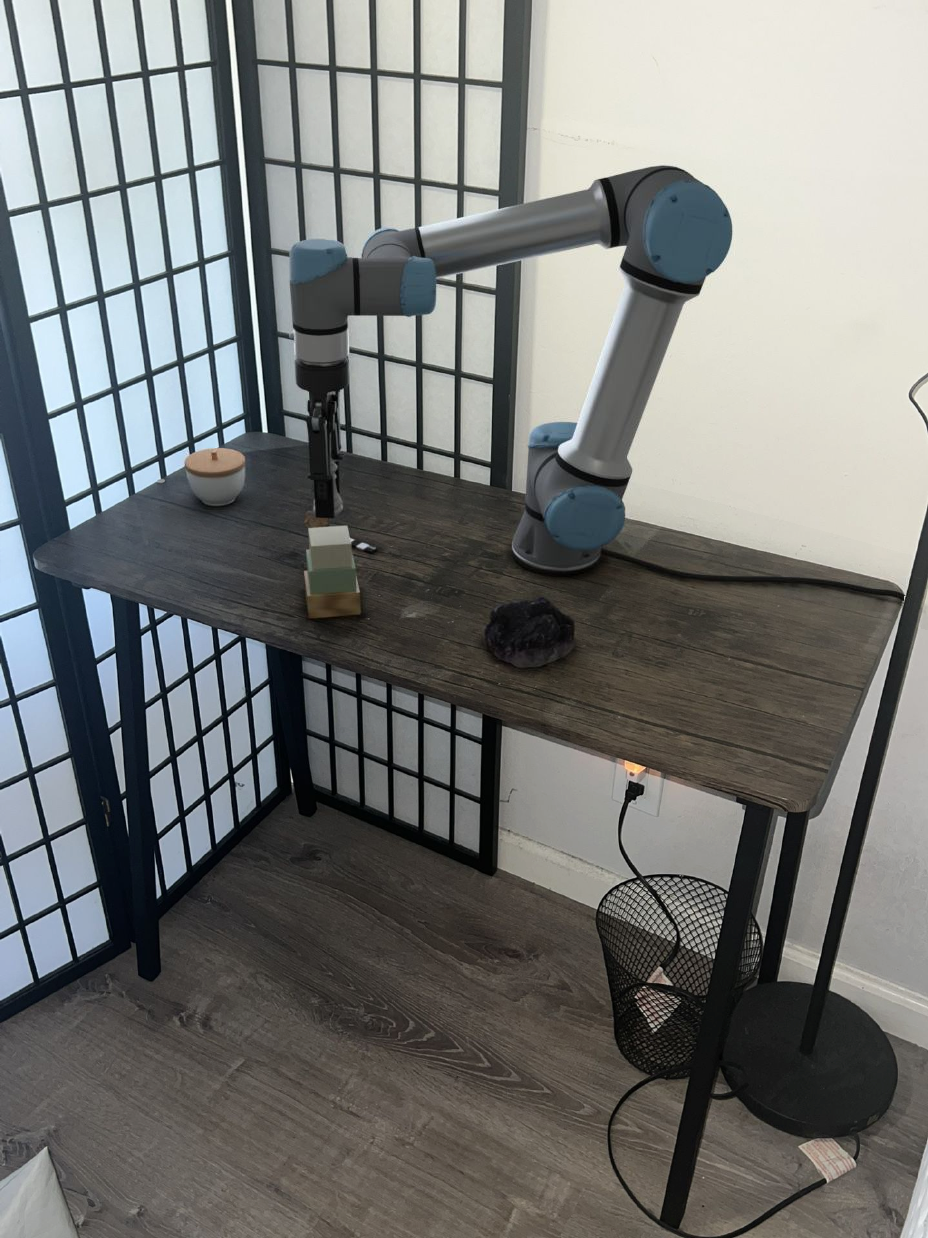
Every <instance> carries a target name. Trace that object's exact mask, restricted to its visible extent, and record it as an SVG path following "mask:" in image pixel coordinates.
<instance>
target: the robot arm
mask: <svg viewBox="0 0 928 1238" xmlns="http://www.w3.org/2000/svg"><path fill="white" fill-rule="evenodd" d="M732 240H733V222H732V218H731V214H730V211H729V209H728V208H727V205H726V204H725V202H724V201H723V199H722V197H720V196H719V194H718V193H717V192H716V191H715V190H714V189H713V188H711V187H710V186H709V185H708V184H705V183H704V182H702V181H700V180H699V179H698V178H696V177H695V176H693V175H692V174H691V173H690V172H688V171H687V170H685V169H683V168H680V167H677V166H673V165H655V166H648V167H644V168H639V169H635V170H630V171H627V172H622V173H619V174H614V175H610V176H607V177H601V178H597V179H594V180H593V182H592V183H591V185H590V187H588V188H587V189H583V190H578V191H574V192H570V193H569V192H568V193H564V194H559V195H556V196H552V197H547V198H543V199H537V200H533V201H530V202H526V203H520V204H515V205H511V206H506V207H503V208H502V207H501V208H497V209H493V210H489V211H484V212H480V213H475V214H471V215H465V216H462V217H458V218H453V219H448V220H444V221H440V222H436V223H431V224H430V223H429V224H427V225H422V226H419V227H418V226H417V227H413V228H408V229H407V228H406V229H402V230H398V229H397V228H393V227H381V228H379V229H376V230H374V231H373V232H371V234H370V235H369V236H368V237H367V238H366V240H365V241H364V243H363V247H362V249H361V250H362V253H361V255H360V256H361V257H353V256H352V257H351V256H350V257H349V256H348V253H347V252H346V247H345V245H344V243H342V242H340V241H338V240H335V239H325V238H311V239H303V240H300V241H298V242H296V243H294V244H293V245H292V247H291V249H290V250H289V258H288V259H289V293H290V307H291V322H292V331H291V332H289V334H288V337H289V339H290V340H293V341H294V343H293V355H294V356H295V357H296V358H295V360H294V380H295V384H296V386H297V387H298V388H299V389H301V390H302V391H307V392H308V393H309V394H310V399H307V401H306V404H307V408H306V410H307V413H308V415H307V416H306V418H305V423H306V429H307V440H308V441H307V442H308V456H309V457H308V458H309V473H308V474H307V479H309V480H310V481H313V494H314V499H315V516H316V518H329V519H335V516H336V515H335V513H334V488H333V476H332V474H331V458H332V459H333V460H335V464H336V465H337V466H338V468H337V470H336V471H335V475H336V476H337V477H336V479H335V483H336V489H337V492H338V493H339V496H340V497H341V482H340V481H341V480H340V477H341V476H340V461H344V459H345V453H343V452H342V453H341V452H340V451H341V450H342V442H341V441H342V439H341V410H340V409H341V408H340V405H341V404H340V401H341V399H340V397H341V395H340V394H341V393H340V392H341V391H342V390H343V389H346V388H347V387H348V386H349V384H350V379H351V378H350V360H349V358H348V356H349V355H350V340H349V339H350V338H349V337H350V334H349V321H348V317H350V316H353V317H356V316H357V317H360V316H361V317H365V316H366V317H367V316H368V317H389V316H390V317H407V318H411V317H415V316H416V317H417V316H425V315H426V316H427V315H431V314H432V313H433V312H435V309H436V305H437V279H442V278H446V277H450V276H454V275H455V276H456V275H460V274H464V273H469V272H474V271H479V270H482V269H487V268H493V267H496V266H497V267H498V266H500V265H501V266H502V265H506V264H510V263H515V262H519V261H524V260H528V259H533V258H537V257H542V256H543V257H544V256H548V255H552V254H556V253H560V252H561V253H562V252H566V251H570V250H575V249H579V248H580V249H581V248H583V247H588V246H593V245H599V246H601V247H602V248H604V249H605V250H608V249H613V248H618V247H625V248H624V252H623V255H622V258H621V261H620V264H619V267H618V270H619V271H620V274H621V276H622V278H623V280H624V287H623V289H622V292H621V295H620V298H619V301H618V304H617V307H616V309H615V313H614V315H613V319H612V321H611V325H610V327H609V330H608V333H607V336H606V338H605V342H604V345H603V347H602V351H601V354H600V357H599V359H598V362H597V365H596V368H595V372H594V374H593V377H592V379H591V383H590V385H589V388H588V391H587V394H586V398H585V400H584V403H583V405H582V409H581V412H580V415H579V417H578V421H577V422H575V421H574V422H573V421H572V422H571V421H554V422H545V423H542V424H539V425H537V426H535V427H533V428H532V429H531V431H530V433H529V437H528V444H527V445H526V448H527V465H526V466H527V467H526V485H525V500H524V501H525V502H524V512H523V513H522V517H521V519H520V521H519V524H518V526H517V528H516V530H515V533H514V535H513V538H512V542H511V556H512V558H513V560H515V562H516V563H517V564H518V565H520V566H522V567H523V568H525V569H526V570H529V571H530V572H531V571H532V572H535V573H538V574H542V575H546V576H555V577H566V576H567V577H568V576H576V575H580V574H583V573H587V572H590V571H591V570H593V569H595V568H596V567H597V566H598V565H599V564H600V563H601V560H602V556H607V557H610V558H612V559H617V560H620V561H623V562H627V563H628V564H633V565H636V566H639V567H642V568H646V569H649V570H652V571H655V572H658V573H661V574H664V575H668V576H670V577H671V576H672V577H675V578H676V577H677V578H681V579H686V580H694V581H702V582H721V583H723V582H724V583H773V584H774V583H776V584H800V585H801V584H802V585H815V586H823V587H830V588H837V589H843V590H848V591H852V592H858V593H861V594H866V595H873V596H884V597H885V596H886V597H892V598H896V599H898V600H901V601H902V602H903V601H904V596H905V595H906V594H904V593H902V592H900V591H897V590H893V589H883V588H872V587H866V586H862V585H857V584H852V583H847V582H843V581H842V582H841V581H836V580H831V579H830V580H828V579H823V578H814V577H813V578H811V577H797V576H767V575H765V576H763V575H762V576H761V575H759V576H758V575H756V576H754V575H753V576H752V575H751V576H749V575H748V576H746V575H745V576H743V575H742V576H741V575H717V574H700V573H692V572H686V571H681V570H675V569H671V568H668V567H664V566H661V565H658V564H655V563H652V562H649V561H646V560H643V559H639V558H636V557H632V556H630V555H626V554H623V553H619V552H617V551H614V550H609V549H605V548H603V546H607V545H609V544H610V543H612V542H613V541H614V540H615V539H616V538H617V537H618V536H619V534H620V533H621V532H622V530H623V527H624V524H625V521H626V505H625V503H624V501H623V498H624V495H625V493H626V490H627V488H628V485H629V482H630V479H631V477H632V474H633V467H632V465H631V463H630V461H629V459H628V455H629V452H630V450H631V448H632V445H633V442H634V439H635V437H636V433H637V432H638V428H639V426H640V423H641V420H642V419H643V416H644V413H645V410H646V407H647V404H648V403H649V399H650V396H651V393H652V391H653V388H654V386H655V383H656V381H657V377H658V375H659V372H660V370H661V367H662V364H663V361H664V359H665V356H666V354H667V350H668V348H669V345H670V342H671V340H672V337H673V335H674V333H675V329H676V326H677V323H678V321H679V318H680V316H681V313H682V310H683V308H684V305H685V304H686V302H689V301H691V300H692V299H694V298H697V297H698V296H700V294H701V291H702V289H703V285H704V284H705V281H706V278H707V277H708V276H710V275H711V274H713V273H714V272H716V271H717V270H718V269H719V267H720V266H721V265H722V264H723V262H724V261H725V259H726V257H727V256H728V254H729V251H730V248H731V246H732Z"/></svg>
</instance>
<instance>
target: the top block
mask: <svg viewBox="0 0 928 1238" xmlns="http://www.w3.org/2000/svg"><path fill="white" fill-rule="evenodd" d="M307 529H308V550H309V551H310V557H311V564H312V569H313V570H314V569H328V568H342V567H352V554H353V550H352V546H351V540H350V538H351V537H350V536H351V535H350V532H349V527H348V525H336V526H334V525H333V526H329V527H318V528H307Z"/></svg>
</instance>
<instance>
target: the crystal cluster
mask: <svg viewBox="0 0 928 1238" xmlns="http://www.w3.org/2000/svg"><path fill="white" fill-rule="evenodd" d="M488 613H489V614H488V618H489V622H488V623H487V624H486V625H485V627H484V628H483V643H484V645H485V647H486V648H487V649H488V650H490V652H491V653H493V654H494V656H495V657H497V658H498V659H500V660H502V661H503V662H506V663H508V664H511V665H513V666H514V667H516V668H521V669H525V668H538V667H542V666H544V665H546V664H549V663H552V662H555V661H557V660H560V659H562V658H564V657H565V656H567V655H568V654H570V652H571V651H573V648H574V647H575V633H576V632H575V631H576V630H575V621H574V618H572V617H571V616H570V615H567V614H565V613H563V612H562V611H561V610H560V609H559V608H558V607H557V606H556V605H554V604H553V603H552V602H551V601H550V600H548V599H547V598H546V596H543V595H542V596H539V597H537V598H535V599H534V600H530V599H525V600H520V601H514V602H509V603H505V604H502V605H499V606H495V607H493V608H492V609H490V611H489V612H488Z"/></svg>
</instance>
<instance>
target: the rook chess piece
mask: <svg viewBox="0 0 928 1238" xmlns="http://www.w3.org/2000/svg"><path fill="white" fill-rule="evenodd" d="M337 468H338V466H337V465H336V464H335V460H333V459H332V458H331V474H332V476H333V488H334V513H335V516H337V515H339V514H340V513H342V511H343V509H344V505H343V500H342V497H341V495H340V496H339V493H338V492H337V489H336V483H335V479H336V477H337V476H336V475H335V471H336V470H337ZM312 503H313V507H312V510H314V511H315V498H314V499H313V502H312Z"/></svg>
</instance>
